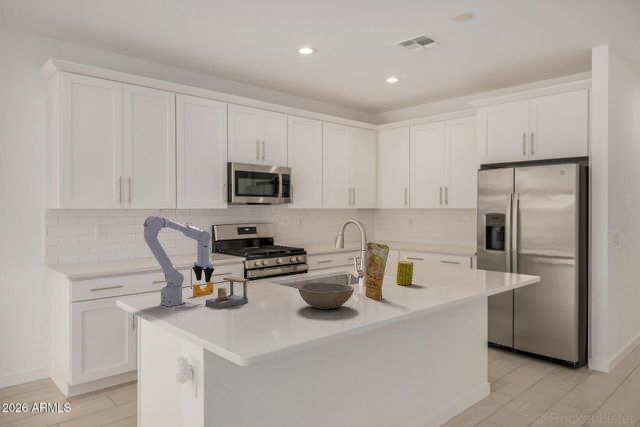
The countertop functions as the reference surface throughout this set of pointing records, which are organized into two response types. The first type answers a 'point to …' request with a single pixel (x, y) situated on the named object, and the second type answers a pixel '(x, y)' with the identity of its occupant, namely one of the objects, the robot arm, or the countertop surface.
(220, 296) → the peg
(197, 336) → the countertop surface
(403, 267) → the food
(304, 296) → the bowl
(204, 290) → the pipe clamp
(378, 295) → the pancake mix bag
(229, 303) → the socket plate
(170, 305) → the robot arm
